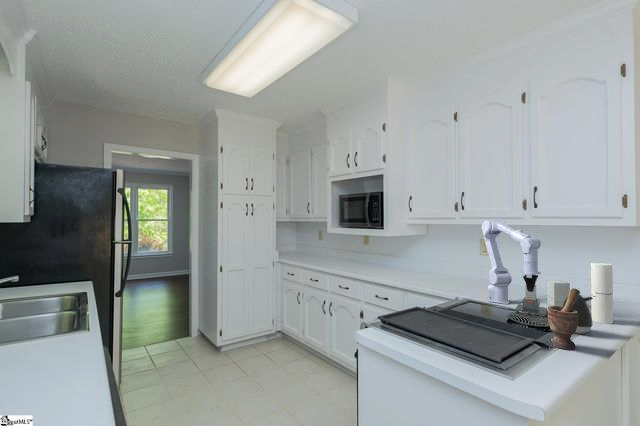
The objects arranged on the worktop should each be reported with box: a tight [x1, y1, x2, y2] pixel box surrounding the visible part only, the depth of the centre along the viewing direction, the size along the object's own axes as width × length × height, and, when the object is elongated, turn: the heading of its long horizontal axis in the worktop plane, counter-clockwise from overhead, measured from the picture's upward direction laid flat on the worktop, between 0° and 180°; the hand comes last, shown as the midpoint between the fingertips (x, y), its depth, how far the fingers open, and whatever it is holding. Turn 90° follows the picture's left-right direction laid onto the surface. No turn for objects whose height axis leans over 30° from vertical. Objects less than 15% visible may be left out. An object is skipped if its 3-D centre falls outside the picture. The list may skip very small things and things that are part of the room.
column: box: [525, 284, 538, 301], centre depth 157 cm, size 4×4×8 cm
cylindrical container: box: [590, 262, 614, 325], centre depth 143 cm, size 7×7×25 cm
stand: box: [514, 296, 548, 317], centre depth 157 cm, size 12×12×6 cm
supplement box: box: [546, 279, 571, 307], centre depth 167 cm, size 7×7×13 cm
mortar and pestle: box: [547, 287, 581, 351], centre depth 117 cm, size 12×9×20 cm
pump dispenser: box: [562, 294, 593, 335], centre depth 130 cm, size 10×10×15 cm
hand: (530, 290), depth 157 cm, fingers closed on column, 4 cm apart
